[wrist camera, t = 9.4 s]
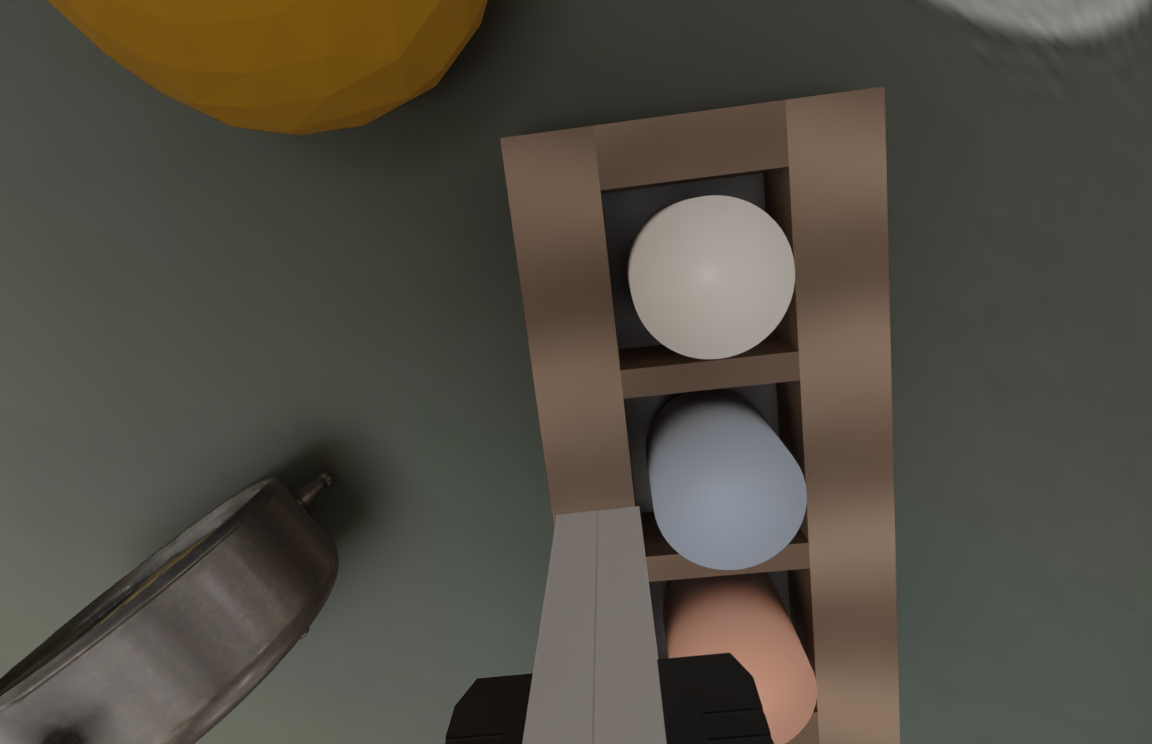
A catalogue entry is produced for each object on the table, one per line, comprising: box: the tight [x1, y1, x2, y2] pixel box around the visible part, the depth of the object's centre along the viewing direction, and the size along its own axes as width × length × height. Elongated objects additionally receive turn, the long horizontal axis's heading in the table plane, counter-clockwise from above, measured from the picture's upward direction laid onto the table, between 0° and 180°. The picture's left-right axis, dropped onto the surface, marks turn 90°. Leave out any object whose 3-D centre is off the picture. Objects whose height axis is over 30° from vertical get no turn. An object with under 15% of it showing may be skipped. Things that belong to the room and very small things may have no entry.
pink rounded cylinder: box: [663, 572, 817, 744], centre depth 26 cm, size 5×5×5 cm
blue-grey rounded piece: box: [646, 389, 807, 570], centre depth 24 cm, size 5×5×5 cm
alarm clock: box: [0, 471, 338, 744], centre depth 22 cm, size 11×5×16 cm, turn 125°
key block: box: [500, 86, 900, 744], centre depth 26 cm, size 24×12×4 cm, turn 7°
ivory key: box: [627, 195, 795, 359], centre depth 23 cm, size 5×5×5 cm
